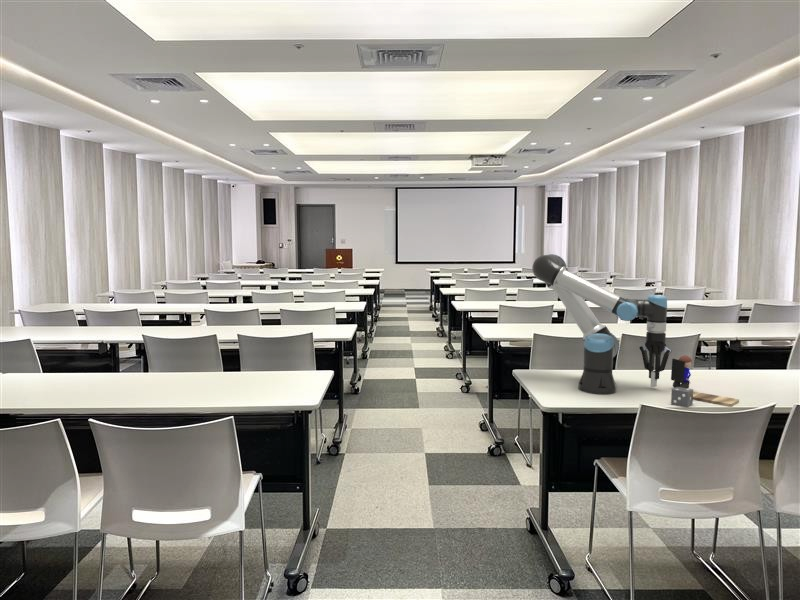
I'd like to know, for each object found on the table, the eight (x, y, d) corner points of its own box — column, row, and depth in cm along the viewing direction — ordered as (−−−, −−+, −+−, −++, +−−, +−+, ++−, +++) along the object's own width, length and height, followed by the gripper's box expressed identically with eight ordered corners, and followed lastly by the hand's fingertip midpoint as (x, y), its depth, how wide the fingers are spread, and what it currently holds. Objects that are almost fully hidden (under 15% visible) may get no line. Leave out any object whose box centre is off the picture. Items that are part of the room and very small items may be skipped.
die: (670, 404, 226) (671, 389, 225) (676, 401, 230) (677, 386, 230) (687, 407, 222) (688, 392, 221) (692, 404, 226) (693, 389, 226)
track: (674, 396, 238) (674, 393, 238) (683, 392, 245) (683, 389, 245) (730, 406, 223) (731, 404, 223) (738, 401, 230) (739, 399, 230)
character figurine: (693, 392, 244) (695, 357, 242) (674, 392, 245) (676, 356, 243) (687, 388, 251) (688, 354, 250) (669, 387, 252) (670, 353, 251)
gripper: (637, 331, 248) (634, 385, 251) (668, 334, 239) (665, 390, 241) (644, 329, 254) (642, 382, 256) (675, 332, 244) (672, 387, 247)
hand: (653, 386), depth 249 cm, fingers closed
